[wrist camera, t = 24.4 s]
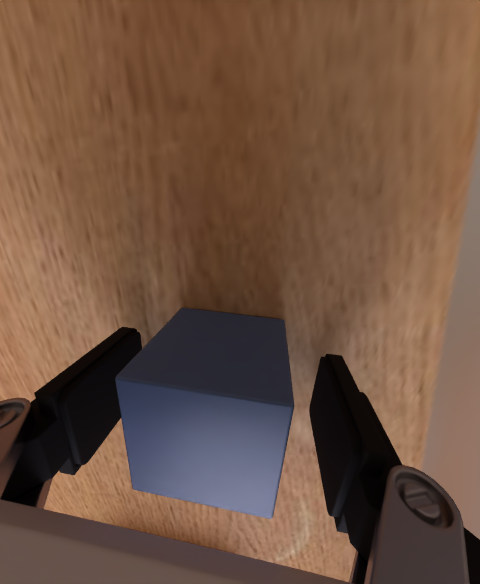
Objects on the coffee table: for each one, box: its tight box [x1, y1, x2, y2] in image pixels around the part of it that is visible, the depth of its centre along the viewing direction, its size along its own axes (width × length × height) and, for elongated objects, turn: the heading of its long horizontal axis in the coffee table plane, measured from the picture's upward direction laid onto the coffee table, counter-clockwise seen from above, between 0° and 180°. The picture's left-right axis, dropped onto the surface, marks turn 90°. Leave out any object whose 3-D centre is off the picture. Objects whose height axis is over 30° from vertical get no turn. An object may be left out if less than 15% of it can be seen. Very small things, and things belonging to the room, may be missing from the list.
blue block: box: [115, 308, 294, 519], centre depth 8 cm, size 5×5×5 cm
